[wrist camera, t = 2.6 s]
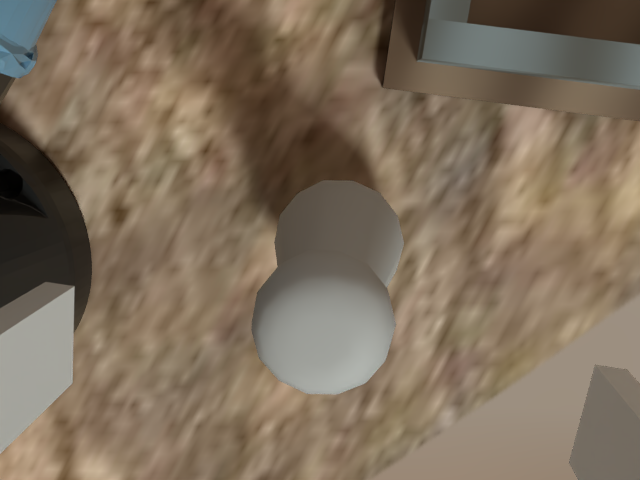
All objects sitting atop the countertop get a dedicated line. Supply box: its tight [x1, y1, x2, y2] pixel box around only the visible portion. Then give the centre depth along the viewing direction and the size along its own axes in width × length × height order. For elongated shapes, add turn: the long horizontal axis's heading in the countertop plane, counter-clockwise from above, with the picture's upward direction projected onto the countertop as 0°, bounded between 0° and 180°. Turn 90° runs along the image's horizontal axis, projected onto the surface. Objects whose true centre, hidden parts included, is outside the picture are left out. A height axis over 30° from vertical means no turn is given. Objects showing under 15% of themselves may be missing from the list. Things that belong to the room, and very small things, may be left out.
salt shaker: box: [252, 180, 404, 394], centre depth 23 cm, size 6×6×13 cm
